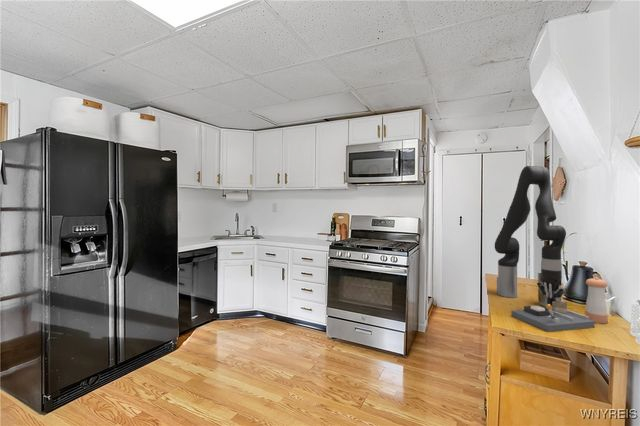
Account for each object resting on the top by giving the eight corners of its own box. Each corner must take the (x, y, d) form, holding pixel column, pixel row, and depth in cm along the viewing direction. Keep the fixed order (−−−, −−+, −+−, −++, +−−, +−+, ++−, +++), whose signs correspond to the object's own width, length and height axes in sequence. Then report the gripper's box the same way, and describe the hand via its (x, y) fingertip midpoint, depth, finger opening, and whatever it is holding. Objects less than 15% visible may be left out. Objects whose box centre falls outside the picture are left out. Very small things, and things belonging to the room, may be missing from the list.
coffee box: (562, 309, 144) (562, 276, 144) (547, 308, 145) (547, 276, 145) (551, 303, 153) (551, 272, 153) (537, 302, 154) (537, 272, 154)
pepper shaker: (612, 322, 127) (612, 278, 126) (598, 324, 125) (598, 279, 125) (594, 316, 134) (594, 275, 134) (580, 317, 133) (580, 275, 132)
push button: (527, 311, 134) (527, 305, 134) (537, 310, 135) (537, 305, 135) (538, 315, 129) (538, 309, 129) (547, 314, 130) (548, 308, 130)
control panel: (511, 315, 136) (511, 306, 136) (553, 312, 140) (553, 303, 140) (548, 331, 118) (548, 320, 118) (594, 327, 122) (594, 316, 122)
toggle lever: (549, 318, 123) (543, 304, 122) (552, 316, 123) (547, 302, 123) (553, 320, 121) (548, 306, 120) (557, 317, 121) (552, 304, 121)
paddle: (552, 312, 132) (552, 301, 132) (563, 311, 133) (563, 300, 133) (555, 313, 131) (555, 302, 131) (566, 312, 132) (566, 301, 132)
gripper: (572, 270, 130) (572, 309, 130) (544, 265, 143) (544, 300, 143) (558, 271, 129) (558, 310, 129) (531, 266, 142) (531, 301, 142)
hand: (551, 305), depth 136 cm, fingers closed
